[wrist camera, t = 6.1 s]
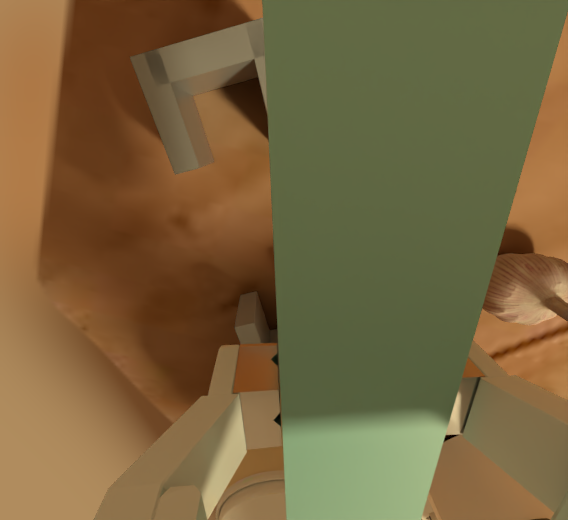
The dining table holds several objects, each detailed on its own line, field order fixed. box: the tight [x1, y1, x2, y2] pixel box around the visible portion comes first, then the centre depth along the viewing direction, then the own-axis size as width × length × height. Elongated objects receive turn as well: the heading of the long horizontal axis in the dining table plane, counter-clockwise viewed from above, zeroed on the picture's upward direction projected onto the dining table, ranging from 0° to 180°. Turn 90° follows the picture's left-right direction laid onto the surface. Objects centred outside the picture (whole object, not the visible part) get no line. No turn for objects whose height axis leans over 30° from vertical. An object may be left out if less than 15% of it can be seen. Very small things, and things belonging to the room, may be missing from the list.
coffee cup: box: [216, 380, 286, 520], centre depth 26 cm, size 9×9×12 cm
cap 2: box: [234, 291, 280, 380], centre depth 25 cm, size 6×8×5 cm
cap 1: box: [130, 18, 268, 174], centre depth 18 cm, size 6×8×5 cm
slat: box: [262, 0, 568, 520], centre depth 8 cm, size 16×3×4 cm, turn 2°
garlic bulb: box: [482, 253, 568, 325], centre depth 24 cm, size 8×7×8 cm
